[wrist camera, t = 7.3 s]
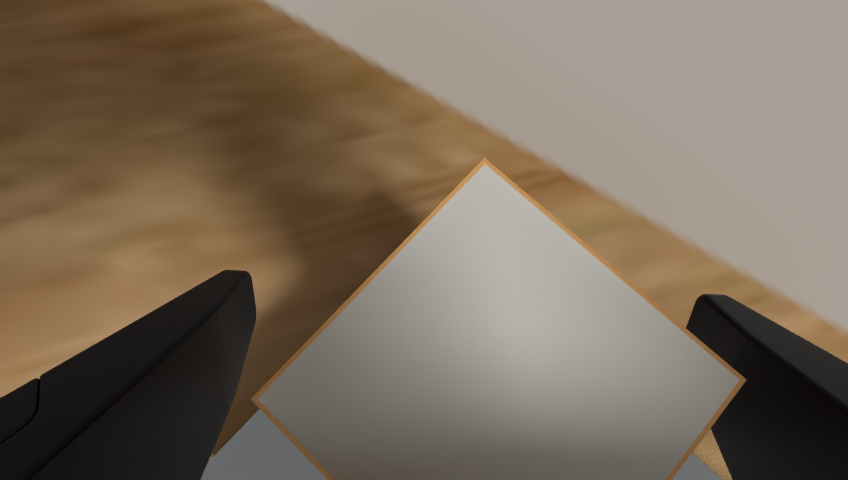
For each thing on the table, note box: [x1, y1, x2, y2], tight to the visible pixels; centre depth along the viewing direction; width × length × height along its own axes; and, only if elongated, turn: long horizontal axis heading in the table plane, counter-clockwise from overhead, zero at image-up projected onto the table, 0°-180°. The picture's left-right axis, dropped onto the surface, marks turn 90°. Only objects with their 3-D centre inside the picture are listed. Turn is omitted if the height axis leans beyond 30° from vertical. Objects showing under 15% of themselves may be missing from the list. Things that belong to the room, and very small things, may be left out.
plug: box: [251, 158, 746, 480], centre depth 11 cm, size 4×4×11 cm
